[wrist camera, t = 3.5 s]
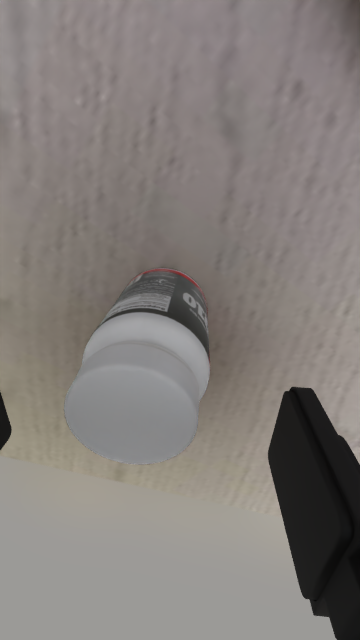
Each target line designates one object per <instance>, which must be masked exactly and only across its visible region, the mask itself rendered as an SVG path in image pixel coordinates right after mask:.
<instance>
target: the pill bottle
mask: <svg viewBox="0 0 360 640" xmlns="http://www.w3.org/2000/svg"><path fill="white" fill-rule="evenodd" d="M209 374H210V357H209V338H208V313H207V303H206V299H205V296H204V293H203V291H202V290H201V288H200V287H199V285H198V284H197V283H196V282H195V281H194V280H193V279H192V278H191V277H189V276H188V275H186V274H185V273H183V272H180V271H178V270H174V269H168V268H155V269H150V270H147V271H144V272H142V273H141V274H139V275H137V276H136V277H135V278H134V279H133V280H132V281H131V282H130V283H129V284H128V285H127V287H126V288H125V290H124V291H123V292H122V294H121V295H120V297H119V298H118V299H117V301H116V302H115V304H114V305H113V307H112V308H111V309H110V311H109V312H108V314H107V315H106V316H105V318H104V319H103V321H102V322H101V323H100V325H99V326H98V327H97V329H96V330H95V331H94V333H93V334H92V336H91V338H90V340H89V341H88V343H87V345H86V347H85V350H84V354H83V360H82V366H81V368H80V369H79V371H78V374H77V376H76V378H75V379H74V381H73V383H72V385H71V386H70V388H69V390H68V392H67V394H66V398H65V403H64V412H65V418H66V421H67V424H68V426H69V428H70V430H71V431H72V433H73V434H74V436H75V437H76V438H77V439H78V440H79V441H80V442H81V443H82V444H83V445H84V446H85V447H87V448H88V449H90V450H91V451H93V452H95V453H96V454H98V455H100V456H103V457H105V458H107V459H110V460H113V461H117V462H121V463H127V464H153V463H158V462H162V461H165V460H168V459H170V458H172V457H174V456H176V455H178V454H180V453H181V452H182V451H183V450H184V449H185V448H186V447H187V446H188V445H189V444H190V443H191V441H192V440H193V438H194V436H195V433H196V430H197V426H198V412H199V401H200V400H201V398H202V397H203V395H204V393H205V391H206V389H207V385H208V381H209Z"/></svg>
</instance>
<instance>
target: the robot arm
mask: <svg viewBox="0 0 360 640" xmlns="http://www.w3.org/2000/svg"><path fill="white" fill-rule="evenodd" d="M10 435H11V425H10V422H9V418H8V415H7V412H6V409H5V405H4V402H3V399H2V396H1V392H0V450H1V449H2V447H3V446H4V445H5V443H6V442H7V441H8V439H9V437H10ZM268 460H269V465H270V469H271V473H272V477H273V481H274V485H275V489H276V493H277V497H278V501H279V505H280V509H281V513H282V517H283V521H284V526H285V530H286V534H287V538H288V542H289V546H290V550H291V554H292V558H293V562H294V566H295V570H296V574H297V578H298V582H299V586H300V589H301V592H302V595H303V597H304V598H305V599H310V603H311V606H312V610H313V614H314V615H316V616H324V617H329V618H330V621H331V624H332V628H333V631H334V634H335V638H336V639H337V640H360V464H359V463H358V461H357V459H356V457H355V456H354V454H353V452H352V450H351V449H350V447H349V445H348V443H347V442H346V441H345V439H344V438H343V437H342V436H340V435H338V434H337V432H336V431H335V429H334V427H333V425H332V423H331V421H330V420H329V418H328V416H327V414H326V412H325V411H324V409H323V407H322V405H321V403H320V401H319V400H318V398H317V396H316V394H315V392H314V391H313V389H311V388H300V387H291V389H290V391H285V392H284V394H283V398H282V402H281V405H280V409H279V413H278V417H277V420H276V424H275V428H274V431H273V435H272V439H271V443H270V446H269V451H268Z"/></svg>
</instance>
